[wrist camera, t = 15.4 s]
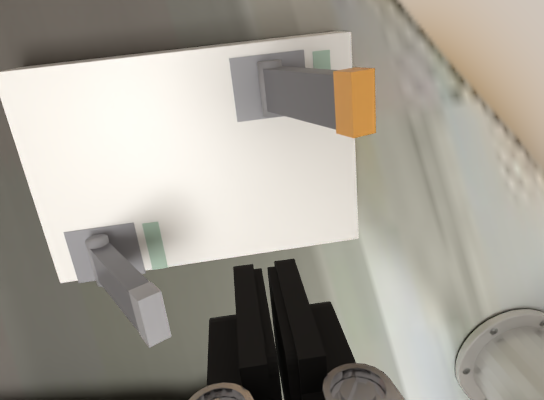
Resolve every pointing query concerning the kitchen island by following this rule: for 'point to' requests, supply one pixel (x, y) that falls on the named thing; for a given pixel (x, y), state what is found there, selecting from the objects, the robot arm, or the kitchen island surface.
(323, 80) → the lever
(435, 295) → the kitchen island surface
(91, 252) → the lever
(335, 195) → the panel
